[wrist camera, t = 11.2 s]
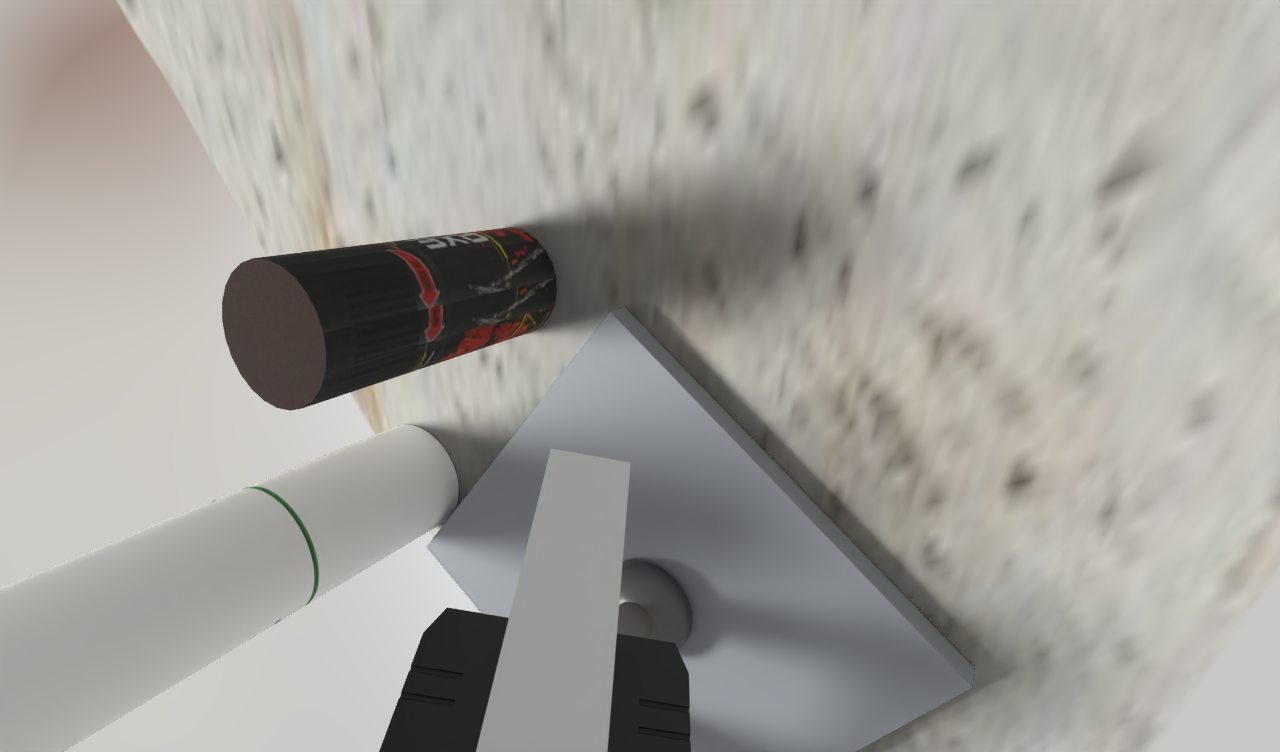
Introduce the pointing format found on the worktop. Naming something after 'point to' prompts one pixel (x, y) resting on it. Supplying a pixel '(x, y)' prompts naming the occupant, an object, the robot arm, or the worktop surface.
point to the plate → (716, 558)
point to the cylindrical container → (205, 584)
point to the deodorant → (380, 310)
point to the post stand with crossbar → (652, 604)
